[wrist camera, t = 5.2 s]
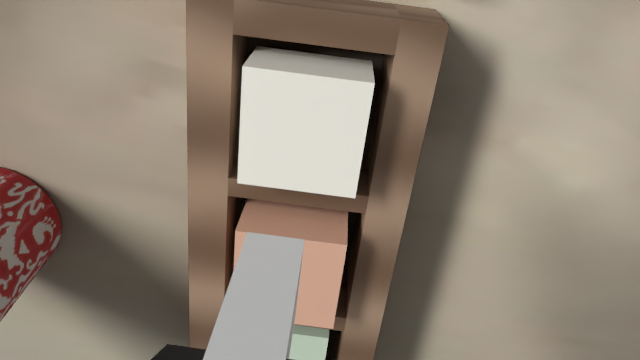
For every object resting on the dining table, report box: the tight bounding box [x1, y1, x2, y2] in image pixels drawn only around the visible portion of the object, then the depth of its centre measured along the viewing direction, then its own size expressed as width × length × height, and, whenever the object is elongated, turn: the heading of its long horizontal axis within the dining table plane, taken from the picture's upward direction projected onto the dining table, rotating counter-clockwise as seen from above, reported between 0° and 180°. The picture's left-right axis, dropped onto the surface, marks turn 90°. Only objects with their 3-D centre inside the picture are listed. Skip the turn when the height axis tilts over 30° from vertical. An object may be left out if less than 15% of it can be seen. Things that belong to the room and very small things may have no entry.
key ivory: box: [237, 46, 375, 198], centre depth 23 cm, size 5×5×4 cm
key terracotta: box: [233, 199, 348, 329], centre depth 27 cm, size 5×5×4 cm
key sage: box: [289, 325, 329, 360], centre depth 32 cm, size 5×5×4 cm
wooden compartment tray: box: [186, 0, 449, 360], centre depth 29 cm, size 26×11×4 cm, turn 173°
